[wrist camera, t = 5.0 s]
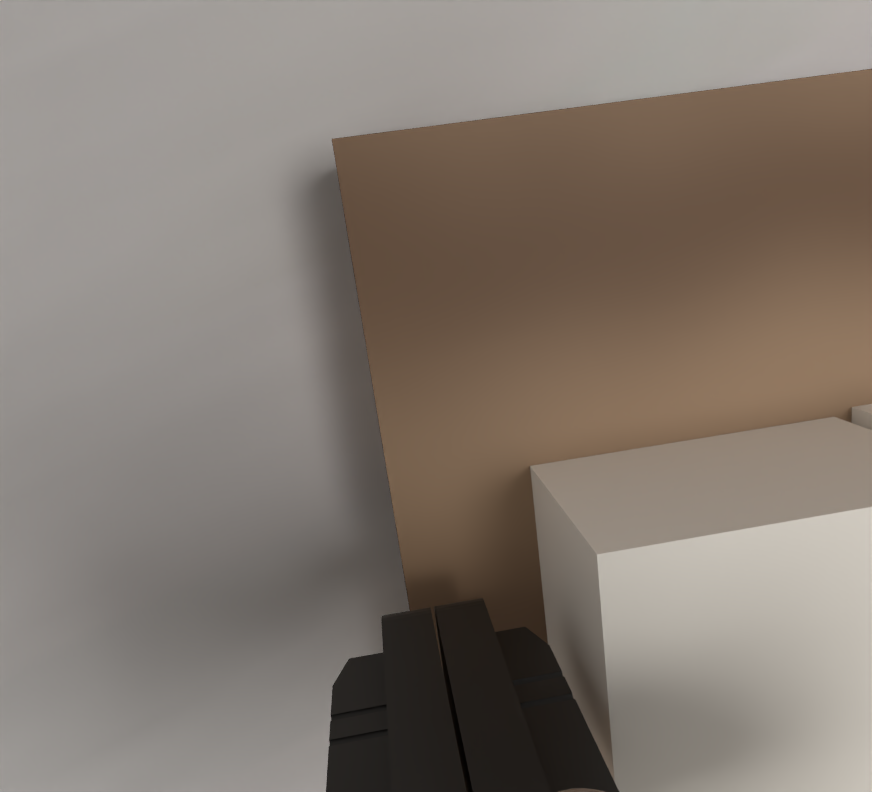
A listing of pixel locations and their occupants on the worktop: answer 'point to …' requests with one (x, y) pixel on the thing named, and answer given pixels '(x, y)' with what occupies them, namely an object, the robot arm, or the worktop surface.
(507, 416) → the walnut board
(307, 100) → the worktop surface
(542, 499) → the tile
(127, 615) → the worktop surface
